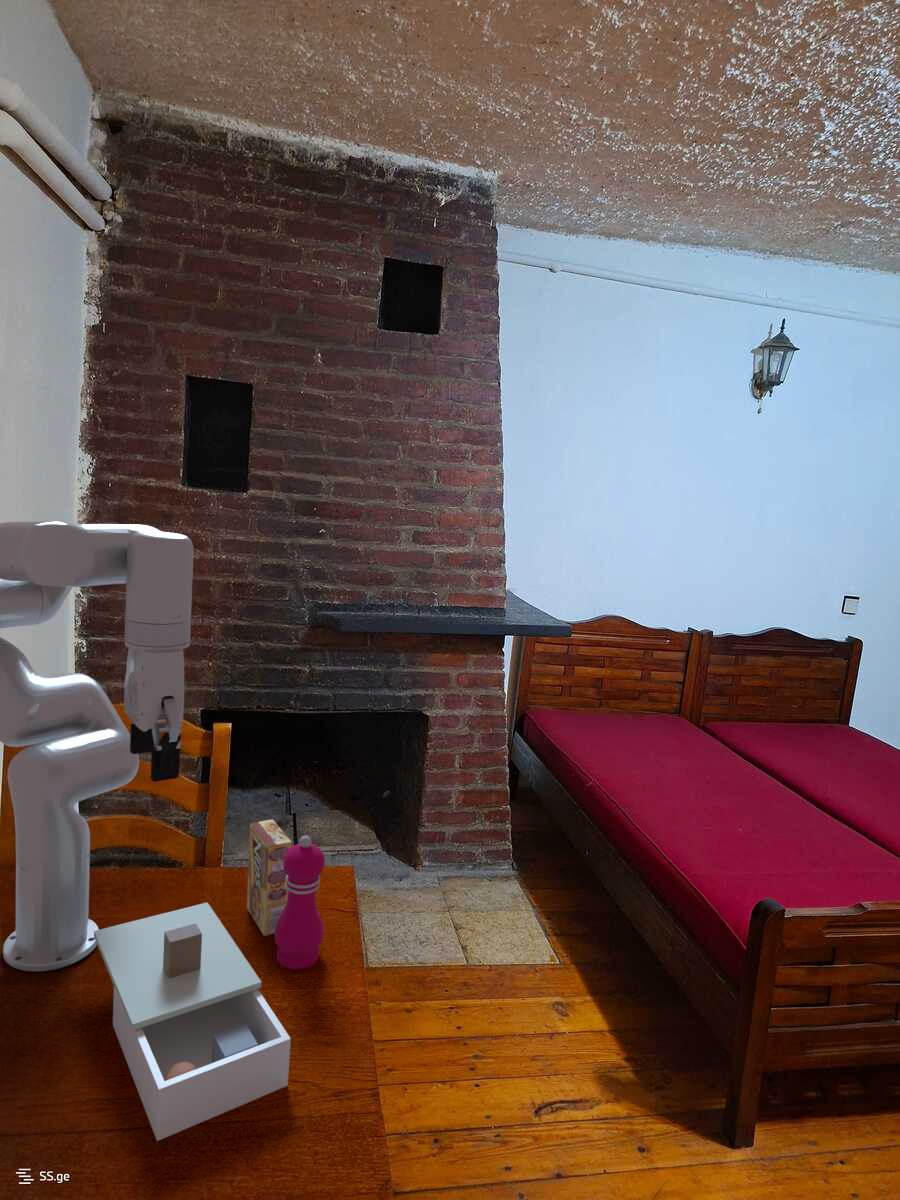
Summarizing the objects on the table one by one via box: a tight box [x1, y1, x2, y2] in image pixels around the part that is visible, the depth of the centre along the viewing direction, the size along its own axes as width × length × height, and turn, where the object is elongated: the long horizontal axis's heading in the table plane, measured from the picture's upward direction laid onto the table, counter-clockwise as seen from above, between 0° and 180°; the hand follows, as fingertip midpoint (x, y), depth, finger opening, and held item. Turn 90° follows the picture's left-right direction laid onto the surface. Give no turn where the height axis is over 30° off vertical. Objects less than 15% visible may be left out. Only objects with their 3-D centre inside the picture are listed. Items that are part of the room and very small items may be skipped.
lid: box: [94, 902, 262, 1031], centre depth 100 cm, size 21×16×6 cm
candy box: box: [246, 819, 293, 937], centre depth 123 cm, size 9×4×15 cm, turn 33°
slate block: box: [212, 1024, 258, 1063], centre depth 92 cm, size 4×4×4 cm
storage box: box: [112, 986, 292, 1142], centre depth 93 cm, size 20×15×7 cm
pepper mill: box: [273, 835, 326, 970], centre depth 113 cm, size 7×7×20 cm
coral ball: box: [165, 1061, 196, 1081], centre depth 88 cm, size 4×4×4 cm
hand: (153, 765), depth 96 cm, fingers open, 9 cm apart
